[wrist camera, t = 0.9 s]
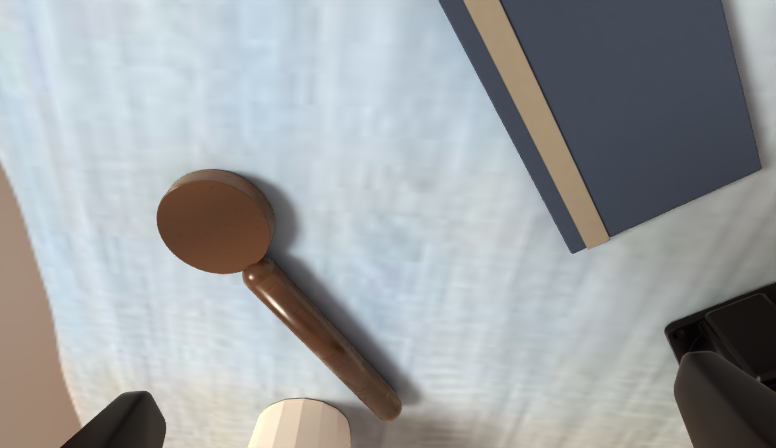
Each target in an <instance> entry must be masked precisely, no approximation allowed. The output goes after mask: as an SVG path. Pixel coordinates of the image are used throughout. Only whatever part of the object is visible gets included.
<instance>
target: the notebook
mask: <svg viewBox="0 0 776 448" xmlns="http://www.w3.org/2000/svg"><path fill="white" fill-rule="evenodd" d="M439 2H440V4H441V6H442V8H443V10H444V12H445V14H446V16H447V17H448V19H449V21H450V23H451V25H452V27H453V29H454V31H455V33H456V35H457V37H458V38H459V40H460V42H461V44H462V46H463V48H464V50H465V52H466V54H467V56H468V58H469V59H470V61H471V63H472V65H473V67H474V69H475V71H476V73H477V75H478V77H479V79H480V80H481V82H482V84H483V86H484V88H485V90H486V92H487V94H488V96H489V98H490V99H491V101H492V103H493V105H494V107H495V109H496V111H497V113H498V115H499V117H500V119H501V120H502V122H503V124H504V126H505V128H506V130H507V132H508V134H509V136H510V138H511V140H512V141H513V143H514V145H515V147H516V149H517V151H518V153H519V155H520V157H521V159H522V161H523V162H524V164H525V166H526V168H527V170H528V172H529V174H530V176H531V178H532V180H533V181H534V183H535V185H536V187H537V189H538V191H539V193H540V195H541V197H542V199H543V201H544V202H545V204H546V206H547V208H548V210H549V212H550V214H551V216H552V218H553V220H554V222H555V223H556V225H557V227H558V229H559V231H560V233H561V235H562V237H563V239H564V241H565V242H566V244H567V246H568V248H569V250H570V252H571V253H572V254H574V253H576V252H578V251H580V250H583V249H585V248H587V249H590V248H592V247H595V246H597V245H599V244H601V243H604V242H606V241H608V240H610V238H609V237H612V236H614V235H616V234H618V233H620V232H623V231H625V230H627V229H629V228H632V227H634V226H636V225H638V224H641V223H643V222H645V221H647V220H649V219H652V218H654V217H656V216H658V215H661V214H663V213H665V212H667V211H670V210H672V209H674V208H676V207H678V206H681V205H683V204H685V203H687V202H690V201H692V200H694V199H696V198H699V197H701V196H703V195H705V194H707V193H710V192H712V191H714V190H716V189H719V188H721V187H723V186H725V185H728V184H730V183H732V182H734V181H736V180H739V179H741V178H743V177H745V176H748V175H750V174H752V173H754V172H757V171H759V170H761V169H762V167H761V163H760V159H759V155H758V151H757V146H756V142H755V138H754V134H753V130H752V126H751V122H750V118H749V113H748V109H747V105H746V101H745V97H744V93H743V89H742V85H741V80H740V76H739V72H738V68H737V64H736V60H735V56H734V52H733V47H732V43H731V39H730V35H729V31H728V27H727V23H726V19H725V14H724V10H723V6H722V2H721V0H439Z"/></svg>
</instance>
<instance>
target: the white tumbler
mask: <svg viewBox="0 0 776 448" xmlns="http://www.w3.org/2000/svg"><path fill="white" fill-rule="evenodd" d="M248 448H351V442H350V428H349V424H348V420H347V419H346V418H345V417H344V416H343V415H342V413H341V412H340V411H339V410H338V409H336V408H334V407H332V406H330V405H328V404H326V403H324V402H320V401H315V400H309V399H304V398H303V399H288V400H283V401H280V402H278V403H275V404H272V405H270V406H269V407H268V408H266V409H265V410H264V411H263V412H262V413H261V414H260V416H259V418H258V421H257V424H256V427H255V429H254V432H253V435H252V438H251V440H250V443H249V446H248Z"/></svg>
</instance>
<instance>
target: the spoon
mask: <svg viewBox="0 0 776 448" xmlns="http://www.w3.org/2000/svg"><path fill="white" fill-rule="evenodd" d="M157 226H158V230H159V233H160V235H161V238H162V239H163V241H164V243H165V244H166V246H167V247H168V248H169V249H170V250H171V252H172V253H173V254H174V255H176V256H177V257H178V258H179V259H181V260H182V261H184V262H185V263H187V264H189V265H190V266H192V267H195V268H197V269H200V270H203V271H206V272H210V273H217V274H231V273H237V272H241V271H243V272H242V277H243V281H244V283H245V285H246V286H247V287H248V288H249V289H250V290H251V291H252V292H253V293H254V294H255V295H256V296H257V297H258V298H259V299H260V300H261V301H262V302H263V303H264V304H265V305H266V306H267V307H268V308H269V309H270V310H271V311H272V312H273V313H274V314H275V315H276V316H277V317H278V318H279V319H280V320H281V321H282V322H283V323H284V324H285V325H286V326H287V327H288V328H289V329H290V330H291V331H292V332H293V333H294V334H295V335H296V336H297V337H298V338H299V339H300V340H301V341H302V342H303V343H304V344H305V345H306V346H307V347H308V348H309V349H310V350H311V351H312V352H313V353H314V354H315V355H316V356H317V357H318V358H319V359H320V360H321V361H322V362H323V363H324V364H325V365H326V366H327V367H328V368H329V369H330V370H331V371H332V372H333V373H334V374H335V375H336V376H337V377H338V378H339V379H340V380H341V381H342V382H343V383H344V384H345V385H346V386H347V387H348V388H349V389H350V390H351V391H352V392H353V393H354V394H355V395H356V396H357V397H358V398H359V399H360V400H361V401H362V402H363V403H364V404H365V405H366V406H367V407H368V408H369V409H370V410H371V411H372V412H373V413H374V414H375V415H376V416H377V417H378V418H380V419H381V420H383V421H392V420H394V419H396V418H397V417H398V416H399V415H400V413H401V410H402V402H401V400H400V398H399V396H398V395H397V394H396V393H395V392H394V391H393V390H392V389H391V387H390V386H389V385H388V384H387V383H386V382H385V381H384V380H383V379H382V378H381V377H380V376H379V375H378V374H377V372H376V371H375V370H374V369H373V368H372V367H371V366H370V365H369V364H368V363H367V362H366V361H365V360H364V359H363V357H362V356H361V355H360V354H359V353H358V352H357V351H356V350H355V349H354V348H353V347H352V346H351V345H350V344H349V342H348V341H347V340H346V339H345V338H344V337H343V336H342V335H341V334H340V333H339V332H338V331H337V330H336V329H335V327H334V326H333V325H332V324H331V323H330V322H329V321H328V320H327V319H326V318H325V317H324V316H323V315H322V314H321V312H320V311H319V310H318V309H317V308H316V307H315V306H314V305H313V304H312V303H311V302H310V301H309V300H308V299H307V297H306V296H305V295H304V294H303V293H302V292H301V291H300V290H299V289H298V288H297V287H296V286H295V285H294V284H293V282H292V281H291V280H290V279H289V278H288V277H287V276H286V275H285V274H284V273H283V272H282V271H281V270H280V268H279V267H278V266H277V265H276V264H275V263H274V262H273V261H272V260H270V259H268V258H266V257H264V256H265V254H266V252H267V251H268V248H269V245H270V243H271V240H272V237H273V234H274V229H275V220H274V214H273V211H272V208H271V206H270V204H269V202H268V200H267V199H266V197H265V196H264V195H263V193H262V192H261V191H260V190H259V189H258V188H257V187H255V186H254V185H253V184H252V183H250V182H249V181H247V180H246V179H244V178H242V177H240V176H238V175H235V174H232V173H229V172H225V171H220V170H200V171H196V172H192V173H189V174H187V175H185V176H183V177H181V178H180V179H179V180H177V181H176V182H175V183H174V184H173V185H172V187H171V188H170V189H169V190H168V192H167V193H166V194H165V196H164V197H163V199H162V200H161V202H160V204H159V206H158V211H157Z"/></svg>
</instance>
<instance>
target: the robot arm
mask: <svg viewBox="0 0 776 448" xmlns="http://www.w3.org/2000/svg"><path fill="white" fill-rule="evenodd" d="M664 333H665V335H666V337H667V340H668V342H669V344H670V346H671V349H672V351H673V353H674V355H675V357H676V360H677V362H678V364H679V370H678V373H677V377H676V380H675V384H674V395H675V399H676V402H677V405H678V408H679V410H680V413H681V415H682V418H683V421H684V423H685V426H686V429H687V431H688V434H689V436H690V439H691V442H692V444H693V447H694V448H776V283H775V284H772V285H770V286H767V287H765V288H762V289H759V290H757V291H754V292H752V293H749V294H746V295H744V296H741V297H739V298H736V299H733V300H731V301H728V302H726V303H723V304H720V305H718V306H715V307H713V308H710V309H707V310H705V311H702V312H699V313H697V314H694V315H692V316H689V317H686V318H684V319H681V320H679V321H676V322H673V323H671V324H669V325H668V326H667V327H666V328H665V330H664ZM165 434H166V422H165V419H164V417H163V415H162V413H161V411H160V410H159V408H158V406H157V404H156V402H155V401H154V399H153V397H152V395H151V394H150V393H149V392H147V391H134V392H125V393H123V394H121V395H120V396H118V397H117V398H116V399H115V400H114V401H113V402H111V403H110V404H109V405H108V406H107V407H106V408H105V409H103V410H102V411H101V412H100V413H99V414H98V415H97V416H96V417H94V418H93V419H92V420H91V421H90V422H89V423H88V424H86V425H85V426H84V427H83V428H82V429H81V430H80V431H79V432H77V433H76V434H75V435H74V436H73V437H72V438H71V439H69V440H68V441H67V442H66V443H65V444H64V445H63V446H62V447H60V448H162V447H163V443H164V439H165Z"/></svg>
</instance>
